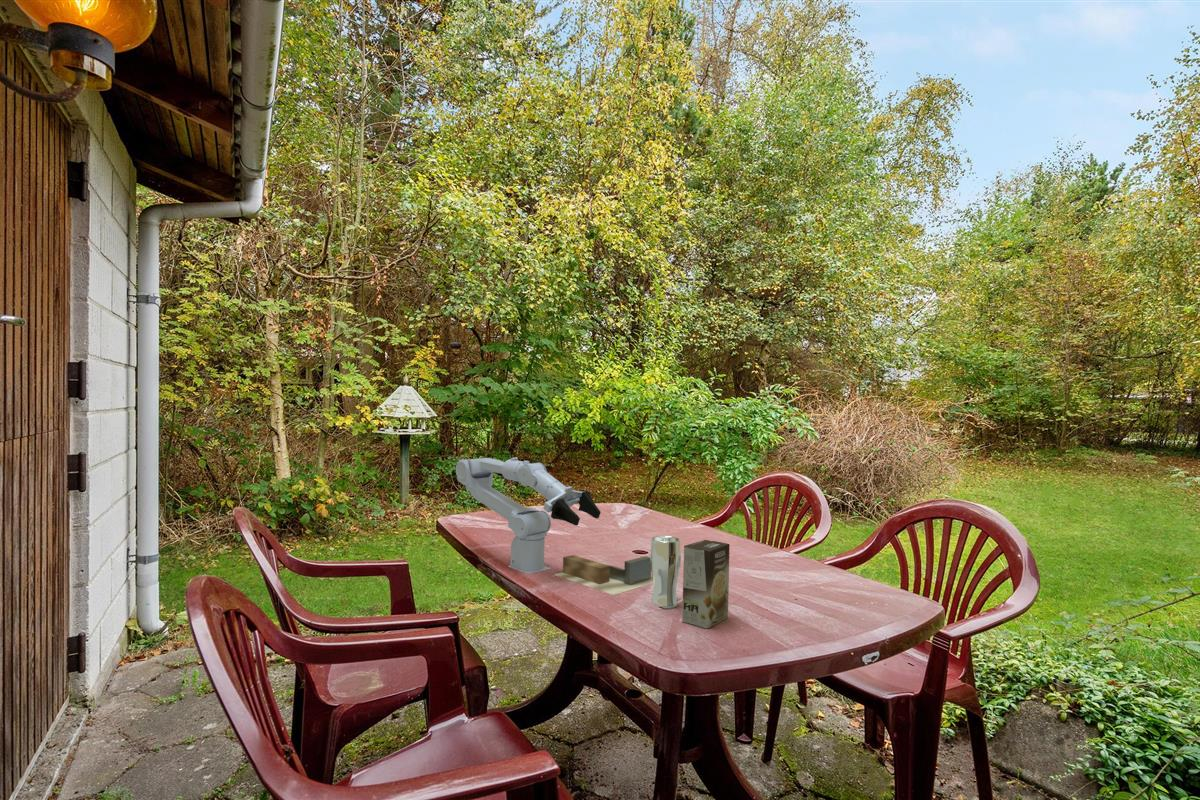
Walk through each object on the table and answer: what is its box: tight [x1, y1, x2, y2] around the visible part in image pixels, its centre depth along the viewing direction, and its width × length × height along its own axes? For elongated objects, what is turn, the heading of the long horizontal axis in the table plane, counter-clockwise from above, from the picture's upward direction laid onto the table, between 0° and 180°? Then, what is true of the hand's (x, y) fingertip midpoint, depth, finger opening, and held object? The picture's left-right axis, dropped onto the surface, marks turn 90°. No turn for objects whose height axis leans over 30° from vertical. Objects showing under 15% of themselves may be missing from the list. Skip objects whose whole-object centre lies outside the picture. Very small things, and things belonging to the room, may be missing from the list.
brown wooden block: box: [562, 554, 610, 584], centre depth 152 cm, size 14×4×4 cm, turn 45°
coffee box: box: [681, 539, 731, 629], centre depth 124 cm, size 9×6×16 cm
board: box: [553, 562, 653, 596], centre depth 152 cm, size 22×18×1 cm
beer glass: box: [649, 535, 682, 610], centre depth 134 cm, size 7×7×15 cm
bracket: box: [610, 555, 652, 585], centre depth 151 cm, size 8×8×6 cm
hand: (588, 518), depth 146 cm, fingers open, 7 cm apart
